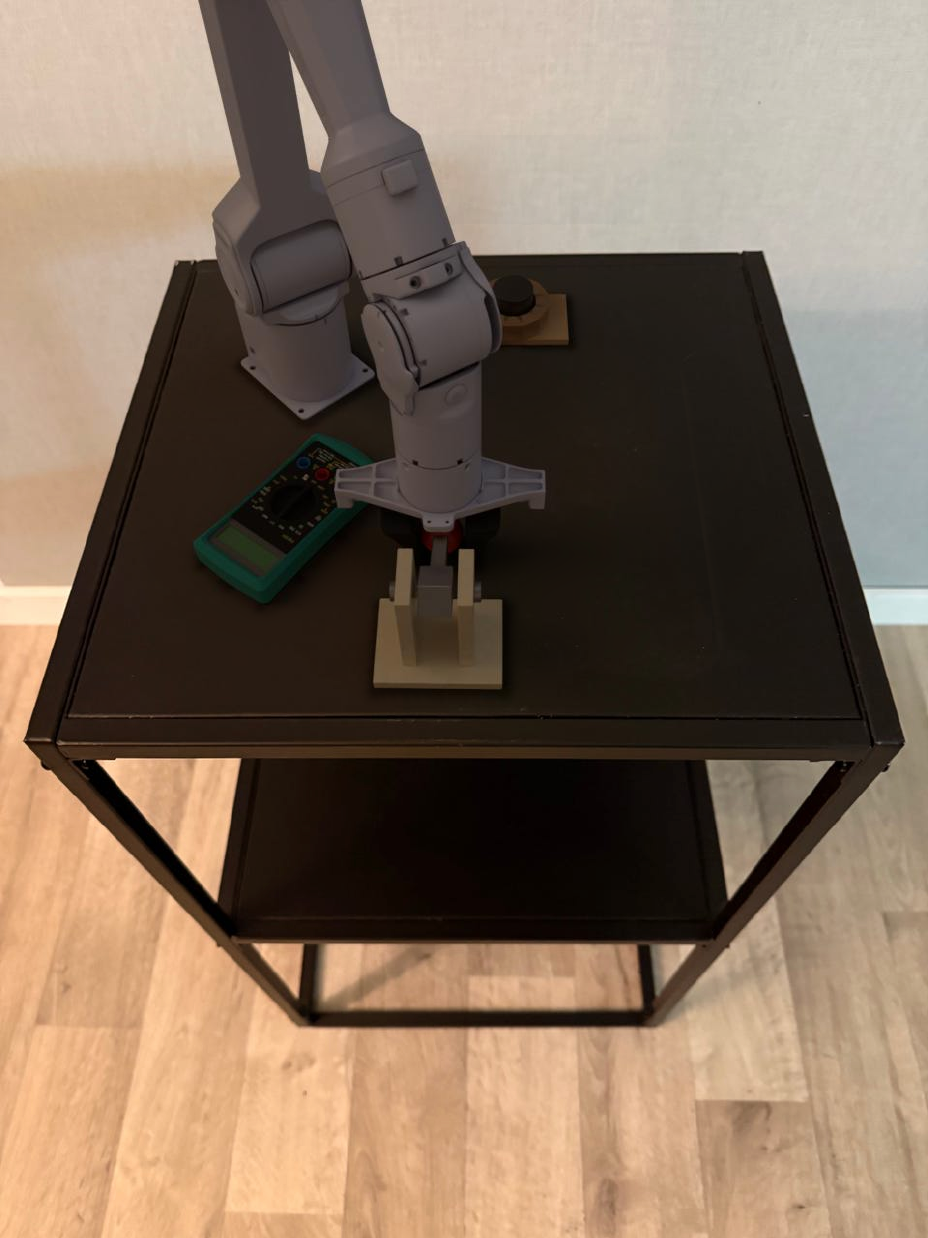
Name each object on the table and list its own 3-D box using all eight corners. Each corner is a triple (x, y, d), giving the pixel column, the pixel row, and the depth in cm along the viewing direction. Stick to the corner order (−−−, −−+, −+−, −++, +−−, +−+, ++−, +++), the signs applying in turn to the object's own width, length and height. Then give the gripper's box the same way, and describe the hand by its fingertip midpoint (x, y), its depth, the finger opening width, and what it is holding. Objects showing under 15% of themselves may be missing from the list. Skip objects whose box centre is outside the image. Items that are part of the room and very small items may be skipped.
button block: (456, 347, 84) (455, 325, 82) (457, 298, 88) (457, 276, 86) (568, 347, 84) (570, 325, 82) (565, 298, 88) (567, 275, 85)
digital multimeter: (392, 487, 76) (389, 462, 74) (265, 611, 70) (257, 590, 68) (324, 446, 79) (319, 421, 76) (196, 563, 72) (186, 540, 70)
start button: (492, 317, 83) (492, 301, 82) (492, 290, 85) (492, 273, 84) (533, 317, 83) (534, 301, 82) (532, 289, 85) (533, 273, 84)
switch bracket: (381, 606, 70) (368, 531, 62) (501, 607, 70) (504, 532, 62) (374, 690, 67) (360, 622, 59) (502, 691, 66) (505, 623, 58)
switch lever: (422, 542, 72) (421, 503, 70) (464, 542, 72) (464, 503, 70) (410, 623, 61) (409, 580, 60) (459, 623, 61) (459, 580, 60)
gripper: (320, 483, 59) (346, 600, 71) (550, 484, 59) (539, 601, 70) (330, 401, 63) (354, 525, 74) (548, 402, 63) (537, 526, 74)
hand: (444, 557), depth 73 cm, fingers open, 3 cm apart
